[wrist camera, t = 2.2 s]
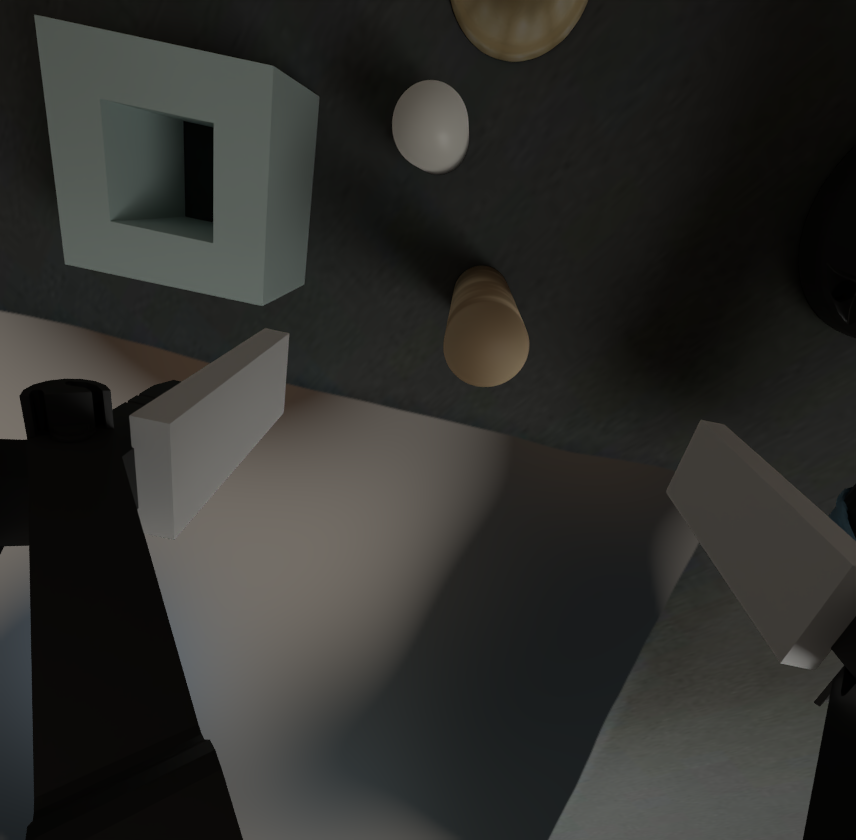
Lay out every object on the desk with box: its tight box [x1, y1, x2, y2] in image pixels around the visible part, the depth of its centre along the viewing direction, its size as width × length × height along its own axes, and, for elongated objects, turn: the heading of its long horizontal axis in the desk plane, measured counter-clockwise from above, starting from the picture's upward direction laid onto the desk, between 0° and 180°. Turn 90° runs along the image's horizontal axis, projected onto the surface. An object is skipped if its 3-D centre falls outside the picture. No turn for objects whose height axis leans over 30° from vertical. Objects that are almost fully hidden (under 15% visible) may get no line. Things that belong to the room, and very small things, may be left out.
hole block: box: [34, 15, 320, 306], centre depth 30 cm, size 12×12×8 cm
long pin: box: [443, 266, 529, 387], centre depth 29 cm, size 4×4×14 cm
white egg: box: [392, 80, 469, 175], centre depth 28 cm, size 4×4×7 cm
